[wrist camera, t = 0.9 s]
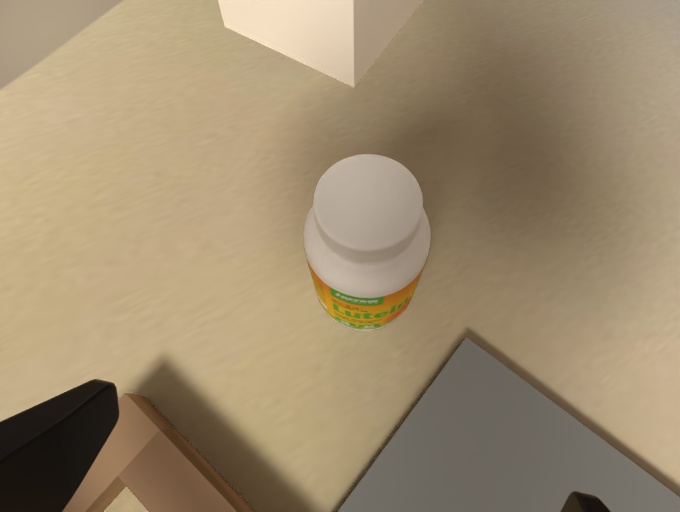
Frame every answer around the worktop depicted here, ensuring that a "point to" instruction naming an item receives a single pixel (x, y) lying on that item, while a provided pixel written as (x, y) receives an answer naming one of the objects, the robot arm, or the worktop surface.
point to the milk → (322, 30)
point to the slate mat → (497, 452)
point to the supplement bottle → (366, 240)
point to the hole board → (153, 468)
